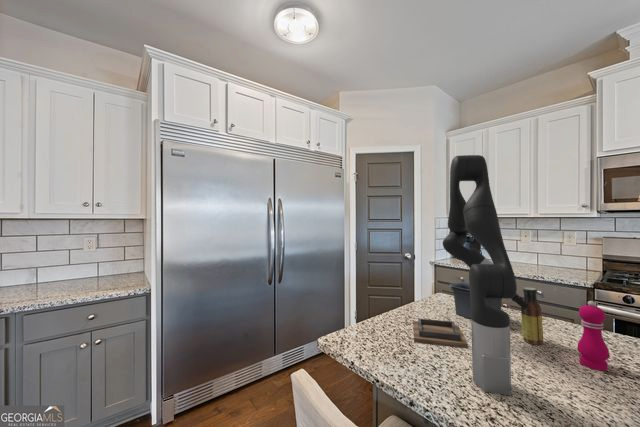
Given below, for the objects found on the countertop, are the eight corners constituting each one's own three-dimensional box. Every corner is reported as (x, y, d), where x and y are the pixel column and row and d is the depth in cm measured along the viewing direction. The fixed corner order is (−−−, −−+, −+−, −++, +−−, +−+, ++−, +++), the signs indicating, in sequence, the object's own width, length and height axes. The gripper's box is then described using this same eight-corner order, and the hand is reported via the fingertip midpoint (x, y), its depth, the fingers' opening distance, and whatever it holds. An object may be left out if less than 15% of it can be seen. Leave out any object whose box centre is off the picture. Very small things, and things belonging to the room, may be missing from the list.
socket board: (467, 348, 99) (467, 338, 99) (414, 341, 105) (413, 332, 105) (458, 328, 116) (458, 320, 116) (413, 324, 122) (413, 316, 122)
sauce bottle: (536, 338, 106) (534, 286, 107) (547, 346, 100) (546, 290, 100) (517, 338, 107) (516, 286, 107) (528, 345, 101) (527, 290, 101)
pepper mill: (599, 373, 82) (597, 305, 83) (571, 361, 89) (570, 298, 90) (616, 369, 84) (614, 303, 85) (587, 358, 91) (585, 296, 92)
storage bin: (447, 313, 135) (446, 284, 135) (467, 308, 142) (466, 280, 143) (491, 328, 116) (490, 294, 116) (512, 321, 124) (511, 289, 124)
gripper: (498, 268, 102) (537, 303, 97) (492, 262, 115) (526, 293, 110) (482, 281, 104) (519, 316, 99) (478, 274, 117) (511, 305, 112)
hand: (523, 304), depth 105 cm, fingers open, 8 cm apart
